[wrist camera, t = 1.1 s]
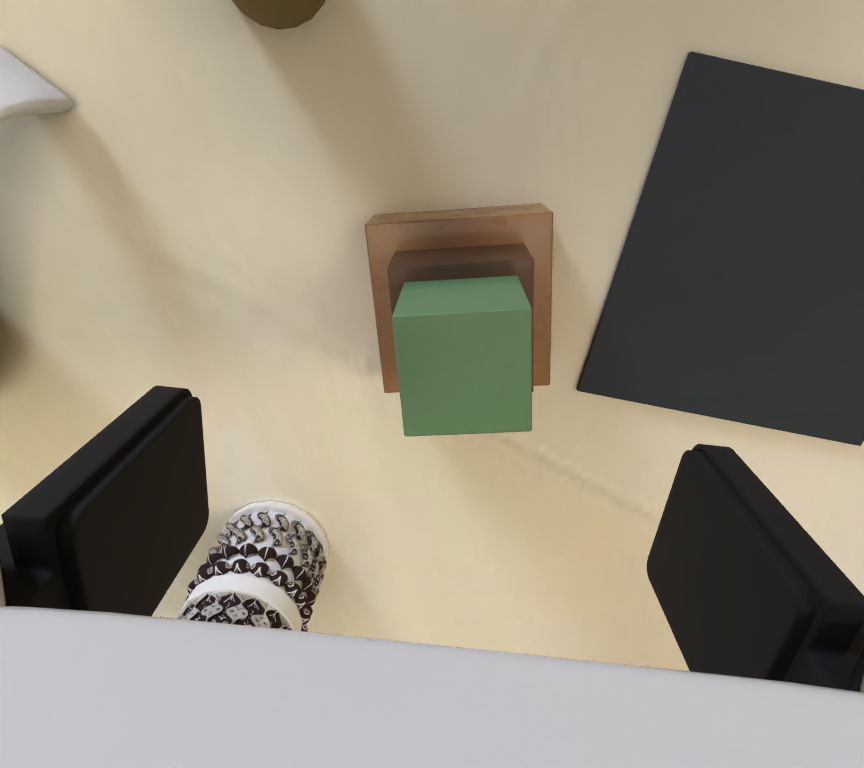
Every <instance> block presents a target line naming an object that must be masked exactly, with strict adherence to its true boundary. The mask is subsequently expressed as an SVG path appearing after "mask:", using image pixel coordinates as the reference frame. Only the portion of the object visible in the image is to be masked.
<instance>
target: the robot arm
mask: <svg viewBox="0 0 864 768" xmlns="http://www.w3.org/2000/svg"><path fill="white" fill-rule="evenodd" d="M1 516H2V519H3V524H1V525H0V768H864V596H863V594H862V593H861V592H860V591H859V590H858V589H857V588H856V587H855V586H854V584H853V583H852V582H851V581H850V580H849V579H848V578H847V577H846V575H845V574H844V573H843V572H842V571H841V570H840V569H839V568H838V567H837V565H836V564H835V563H834V562H833V561H832V560H831V559H830V558H829V556H828V555H827V554H826V553H825V552H824V551H823V550H822V549H821V548H820V546H819V545H818V544H817V543H816V542H815V541H814V540H813V539H812V537H811V536H810V535H809V534H808V533H807V532H806V531H805V530H804V529H803V527H802V526H801V525H800V524H799V523H798V522H797V521H796V520H795V518H794V517H793V516H792V515H791V514H790V513H789V512H788V511H787V510H786V508H785V507H784V506H783V505H782V504H781V503H780V502H779V501H778V499H777V498H776V497H775V496H774V495H773V494H772V493H771V492H770V491H769V489H768V488H767V487H766V486H765V485H764V484H763V483H762V482H761V480H760V479H759V478H758V477H757V476H756V475H755V474H754V473H753V472H752V470H751V469H750V468H749V467H748V466H747V465H746V464H745V463H744V461H743V460H742V459H741V458H740V457H739V456H738V455H737V454H736V453H735V451H734V450H733V449H731V448H730V447H722V446H713V445H704V444H698V445H696V446H695V447H694V448H693V449H692V451H691V450H687V451H685V452H684V454H683V456H682V458H681V461H680V464H679V467H678V470H677V473H676V476H675V479H674V482H673V485H672V488H671V491H670V494H669V497H668V500H667V503H666V506H665V509H664V512H663V515H662V518H661V521H660V524H659V527H658V530H657V533H656V536H655V539H654V542H653V545H652V548H651V550H650V553H649V556H648V560H647V573H648V577H649V580H650V582H651V585H652V587H653V589H654V591H655V594H656V596H657V598H658V600H659V603H660V605H661V607H662V609H663V612H664V614H665V616H666V618H667V621H668V623H669V625H670V627H671V630H672V632H673V634H674V636H675V639H676V641H677V643H678V645H679V648H680V650H681V652H682V654H683V657H684V659H685V661H686V663H687V666H688V668H689V670H690V671H681V670H672V669H663V668H653V667H644V666H635V665H626V664H616V663H607V662H597V661H587V660H577V659H568V658H558V657H548V656H538V655H528V654H519V653H509V652H499V651H489V650H480V649H470V648H460V647H450V646H440V645H431V644H421V643H411V642H402V641H392V640H382V639H373V638H363V637H353V636H344V635H334V634H324V633H315V632H305V631H295V630H286V629H275V628H265V627H255V626H244V625H234V624H224V623H214V622H203V621H193V620H183V619H173V618H162V617H152V614H153V613H154V611H155V609H156V608H157V606H158V605H159V603H160V601H161V600H162V598H163V597H164V595H165V593H166V592H167V590H168V589H169V587H170V585H171V584H172V582H173V581H174V579H175V578H176V576H177V574H178V573H179V571H180V570H181V568H182V566H183V565H184V563H185V562H186V560H187V558H188V557H189V555H190V554H191V552H192V550H193V549H194V547H195V546H196V544H197V542H198V541H199V539H200V538H201V536H202V534H203V533H204V531H205V529H206V526H207V522H208V517H209V508H208V494H207V481H206V467H205V454H204V440H203V427H202V413H201V403H200V400H199V399H198V398H197V397H192V394H191V392H190V391H189V390H188V389H184V388H175V387H165V386H155V387H153V388H152V389H151V390H149V391H148V392H147V393H146V394H145V395H144V396H142V397H141V398H140V399H139V400H138V401H136V402H135V403H134V404H133V405H132V406H130V407H129V408H128V409H127V410H126V411H124V412H123V413H122V414H121V415H120V416H119V417H117V418H116V419H115V420H114V421H113V422H111V423H110V424H109V425H108V426H107V427H105V428H104V429H103V430H102V431H101V432H99V433H98V434H97V435H96V436H95V437H94V438H92V439H91V440H90V441H89V442H88V443H86V444H85V445H84V446H83V447H82V448H80V449H79V450H78V451H77V452H76V453H75V454H73V455H72V456H71V457H70V458H69V459H67V460H66V461H65V462H64V463H63V464H61V465H60V466H59V467H58V468H57V469H55V470H54V471H53V472H52V473H51V474H50V475H48V476H47V477H46V478H45V479H44V480H42V481H41V482H40V483H39V484H38V485H36V486H35V487H34V488H33V489H32V490H31V491H29V492H28V493H27V494H26V495H25V496H23V497H22V498H21V499H20V500H19V501H17V502H16V503H15V504H14V505H13V506H11V507H10V508H9V509H8V510H7V511H6V512H4V513H3V514H2V515H1Z"/></svg>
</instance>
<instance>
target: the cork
mask: <svg viewBox="0 0 864 768" xmlns="http://www.w3.org/2000/svg"><path fill="white" fill-rule="evenodd" d="M232 1H233V2H234V3H235V4H236V5H237V6H238V7H239V9H240V10H241V11H242V12H243V13H244V14H245V15H247V16H248V17H250V18H251V19H253V20H254V21H256V22H257V23H259V24H261V25H264V26H268V27H272V28H276V29H283V28H291V27H296V26H298V25H300V24H302V23H304V22H305V21H307V20H309V19H311V18H312V17H313V16H314V15H315V13H316V12H317V11H318V10H319V9H320V8H321V6H322V5H323V4H324V2H325V0H232Z"/></svg>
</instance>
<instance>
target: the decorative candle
mask: <svg viewBox="0 0 864 768" xmlns="http://www.w3.org/2000/svg"><path fill="white" fill-rule="evenodd" d="M217 541H218V543H219V544H221V546H222V548H221V546H220V547H216V548H215V547H213V548H210V549H209V551H208V554H209V556H208V557H207V563H206V564H203V565H201V566H200V568H199V569H198V574H197V579H196V580H194V581H192V582H191V583H190V584H189V586H188V592H189V593H190V594H189V595H188V596H187V598H186V602H185V604H184V606H183V607H182V609H181V611H180V613H179V614H178V619H183V620H193V621H203V622H214V623H224V624H234V625H244V626H255V627H265V628H275V629H286V630H295V631H305V632H307V629H308V628H307V625H306V623H307V622H308V621H309V620H310V617H311V614H312V612H313V611H312V608H311V607H310V606H312V605H313V604H314V602H315V600H316V597H317V596H318V594H319V586H320V584H321V582H322V579H323V576H324V575H323V572H324V570H325V568H326V563H327V557H328V552H329V544H328V541H327V537H326V534H325V531H324V529H323V528H322V527H321V526H320V525H319V524H318V522H317V521H316V520H315V519H314V518H313V517H312V516H311V515H310V514H308V513H306V512H304V511H303V510H301V509H299V508H297V507H296V506H294V505H291V504H286V503H281V502H276V501H264V502H256V503H250V504H249V505H247V506H245V507H243V508H241V509H240V510H238V511H236V512H234V514H233V515H232V517H231V518H230V520H229V521H228V523H227V524H226V526H225V527H224V532H223V534H219V535H218V536H217Z"/></svg>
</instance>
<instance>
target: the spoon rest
mask: <svg viewBox="0 0 864 768" xmlns="http://www.w3.org/2000/svg"><path fill="white" fill-rule="evenodd" d="M71 108H72V101H71V100H70V99H69V98H68V97H67V96H66V95H65V94H64V93H62V92H61V91H60V90H58V89H57V88H56V87H54V86H53V85H52V84H50V83H49V82H48V81H46V80H45V79H43V78H42V77H41V76H39V75H38V74H37V73H36V72H34V71H33V70H32V69H30V68H29V67H28V66H26V65H25V64H24V63H22V62H21V61H20V60H18V59H17V58H15V57H14V56H13V55H11V54H10V53H8V52H7V51H5V50H4V49H2V48H0V123H1V122H3V121H5V120H8V119H11V118H14V117H19V116H23V115H30V114H39V113H59V112H65V111H67V110H69V109H71Z"/></svg>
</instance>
